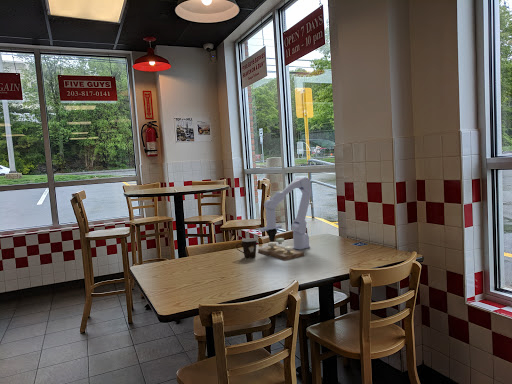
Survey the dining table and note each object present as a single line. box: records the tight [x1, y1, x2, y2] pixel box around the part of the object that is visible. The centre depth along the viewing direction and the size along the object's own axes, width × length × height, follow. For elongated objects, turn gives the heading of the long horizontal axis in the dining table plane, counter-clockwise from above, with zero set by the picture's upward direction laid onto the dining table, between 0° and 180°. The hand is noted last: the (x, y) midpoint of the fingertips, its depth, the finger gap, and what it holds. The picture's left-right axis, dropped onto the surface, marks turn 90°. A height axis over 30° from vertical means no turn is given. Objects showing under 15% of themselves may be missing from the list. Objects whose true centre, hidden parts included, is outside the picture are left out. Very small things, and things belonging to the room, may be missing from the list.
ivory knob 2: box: [283, 245, 294, 253], centre depth 217 cm, size 5×5×3 cm
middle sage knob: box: [275, 237, 285, 245], centre depth 224 cm, size 5×5×3 cm
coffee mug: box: [235, 237, 258, 259], centre depth 220 cm, size 12×9×10 cm
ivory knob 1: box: [267, 241, 277, 248], centre depth 230 cm, size 5×5×3 cm
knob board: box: [257, 244, 305, 261], centre depth 224 cm, size 14×26×2 cm, turn 34°
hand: (272, 241), depth 230 cm, fingers closed
